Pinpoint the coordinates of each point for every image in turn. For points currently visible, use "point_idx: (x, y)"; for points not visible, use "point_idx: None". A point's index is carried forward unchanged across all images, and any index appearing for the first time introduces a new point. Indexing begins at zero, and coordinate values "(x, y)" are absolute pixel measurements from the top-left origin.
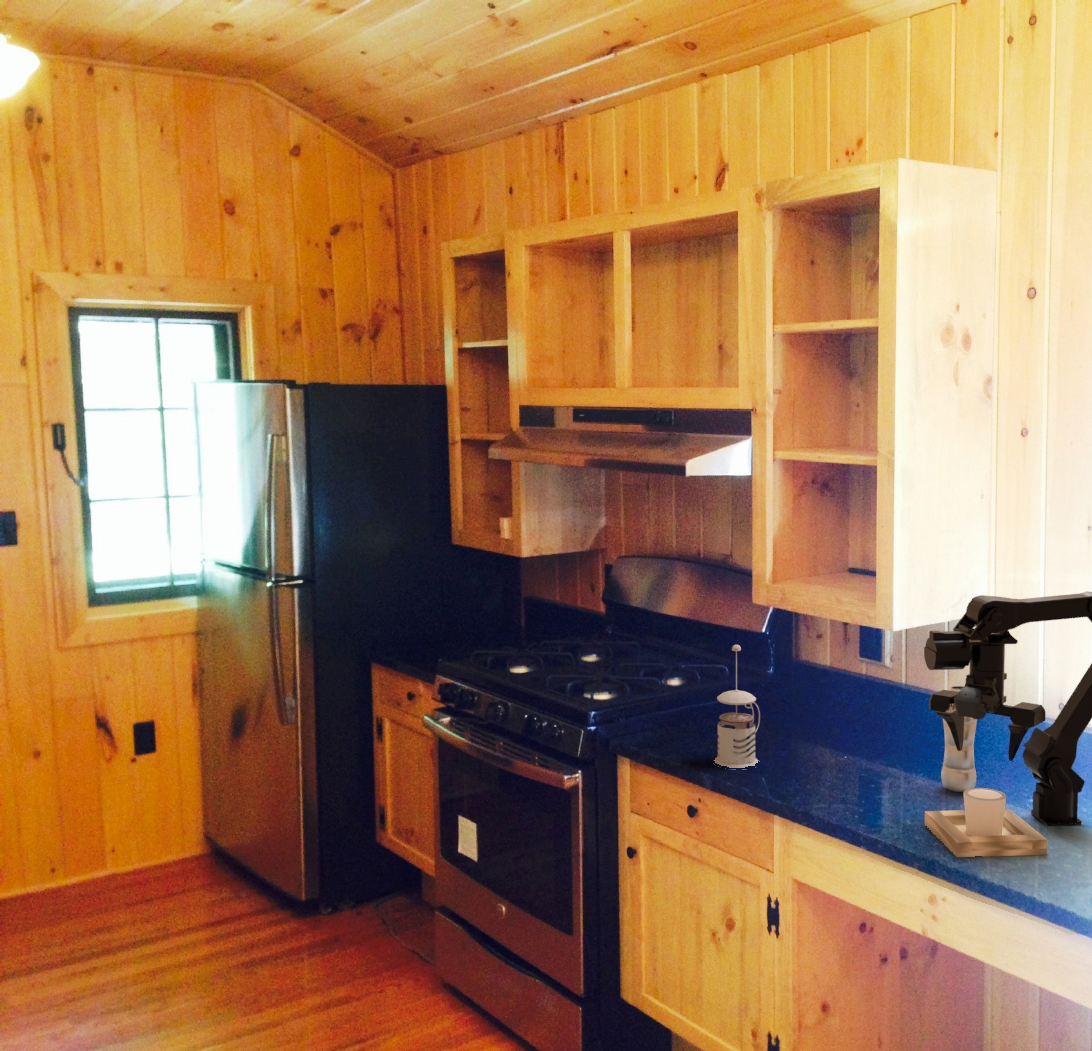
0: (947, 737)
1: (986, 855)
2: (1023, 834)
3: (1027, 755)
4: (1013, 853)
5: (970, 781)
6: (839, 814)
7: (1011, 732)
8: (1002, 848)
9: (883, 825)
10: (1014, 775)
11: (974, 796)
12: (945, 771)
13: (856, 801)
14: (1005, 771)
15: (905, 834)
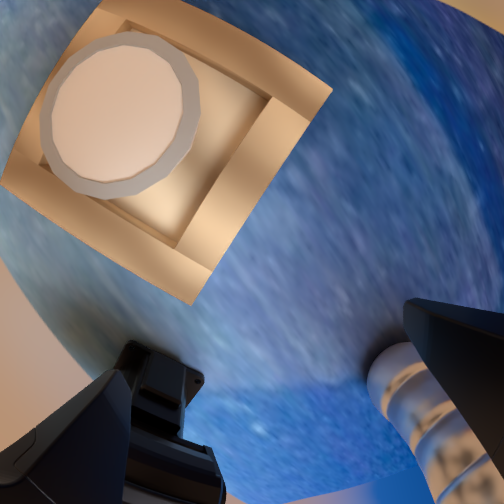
0: None
1: None
2: (50, 171)
3: (187, 480)
4: None
5: (374, 381)
6: (456, 42)
7: (1, 480)
8: None
9: (373, 32)
10: (347, 472)
11: (124, 54)
12: None
13: (485, 135)
14: (365, 471)
15: (303, 13)
